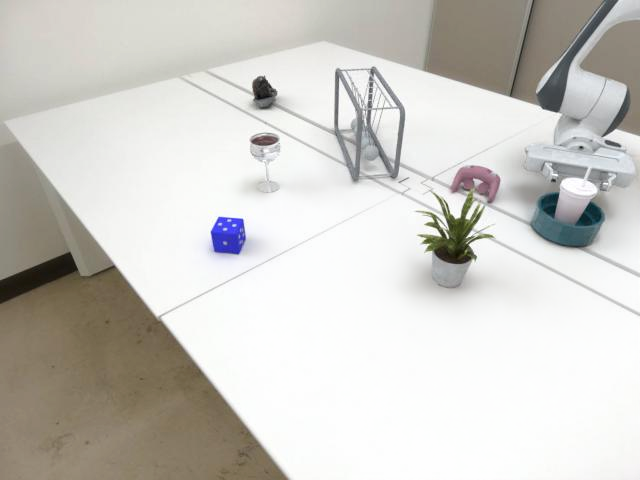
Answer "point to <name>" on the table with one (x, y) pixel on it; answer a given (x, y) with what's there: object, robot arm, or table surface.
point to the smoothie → (574, 198)
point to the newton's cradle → (358, 124)
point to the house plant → (453, 243)
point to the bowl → (563, 232)
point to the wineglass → (266, 155)
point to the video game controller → (480, 173)
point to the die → (228, 235)
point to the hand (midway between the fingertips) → (578, 183)
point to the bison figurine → (263, 92)
